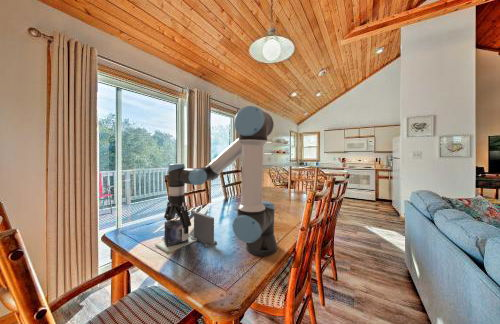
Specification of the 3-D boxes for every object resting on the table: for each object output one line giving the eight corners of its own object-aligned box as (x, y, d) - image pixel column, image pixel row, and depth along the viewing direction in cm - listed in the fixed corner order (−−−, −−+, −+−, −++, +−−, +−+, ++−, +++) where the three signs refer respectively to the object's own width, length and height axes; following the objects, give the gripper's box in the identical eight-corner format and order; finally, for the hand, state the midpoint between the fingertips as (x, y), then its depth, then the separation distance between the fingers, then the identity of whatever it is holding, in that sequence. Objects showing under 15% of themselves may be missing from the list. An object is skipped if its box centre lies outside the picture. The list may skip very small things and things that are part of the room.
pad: (197, 240, 102) (197, 238, 102) (167, 253, 89) (167, 251, 89) (184, 234, 109) (184, 233, 109) (155, 245, 96) (155, 243, 96)
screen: (217, 243, 99) (217, 216, 98) (208, 248, 95) (208, 219, 94) (199, 235, 108) (199, 210, 107) (190, 239, 103) (190, 213, 102)
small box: (166, 247, 93) (166, 226, 93) (164, 242, 99) (163, 221, 98) (189, 242, 99) (189, 221, 98) (185, 237, 104) (185, 218, 104)
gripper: (198, 196, 93) (198, 240, 94) (170, 189, 108) (170, 227, 109) (184, 199, 87) (185, 246, 88) (156, 192, 102) (157, 231, 104)
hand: (177, 235), depth 99 cm, fingers open, 13 cm apart
